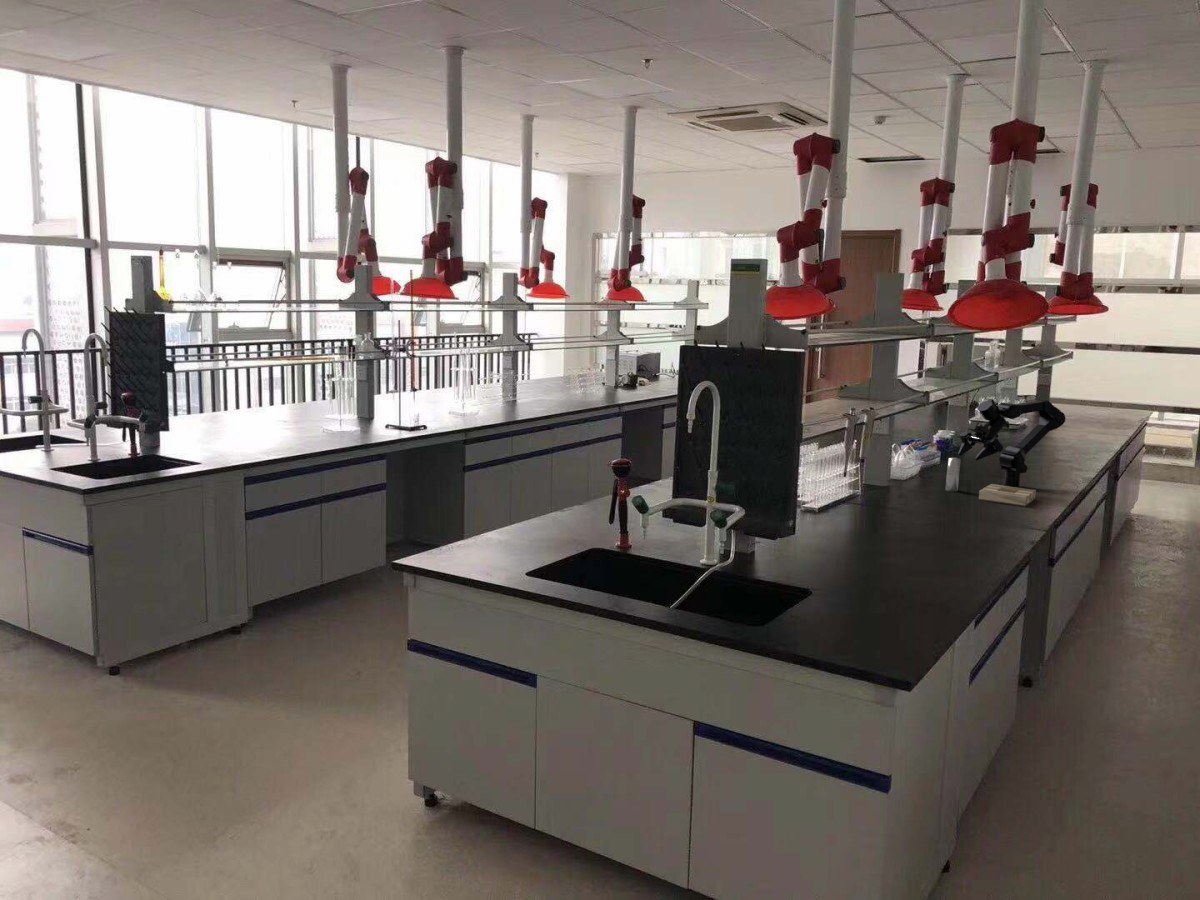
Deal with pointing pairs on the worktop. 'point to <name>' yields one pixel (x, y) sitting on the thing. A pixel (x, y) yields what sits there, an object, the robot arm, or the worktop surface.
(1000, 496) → the socket block
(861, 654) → the worktop surface
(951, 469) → the steel roller
